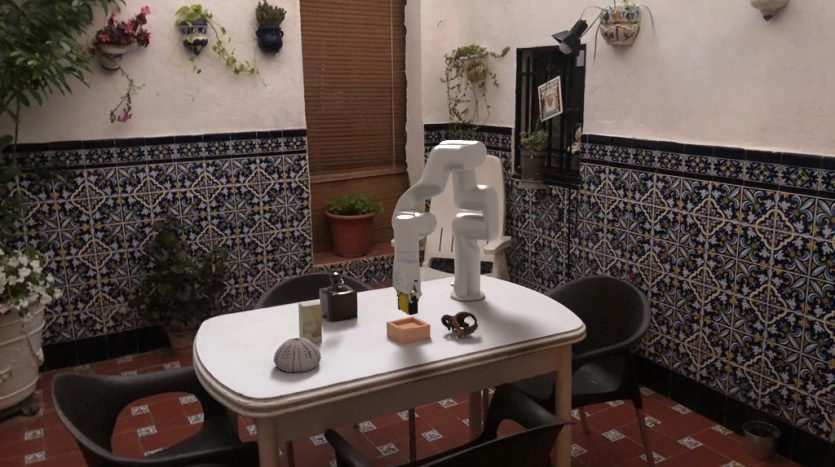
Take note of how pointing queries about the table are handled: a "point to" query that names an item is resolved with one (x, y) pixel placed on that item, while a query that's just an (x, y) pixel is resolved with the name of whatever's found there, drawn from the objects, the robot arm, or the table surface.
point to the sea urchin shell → (297, 355)
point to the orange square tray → (408, 329)
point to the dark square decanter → (338, 300)
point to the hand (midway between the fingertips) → (407, 311)
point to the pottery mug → (460, 323)
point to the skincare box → (310, 321)
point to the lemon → (404, 302)
